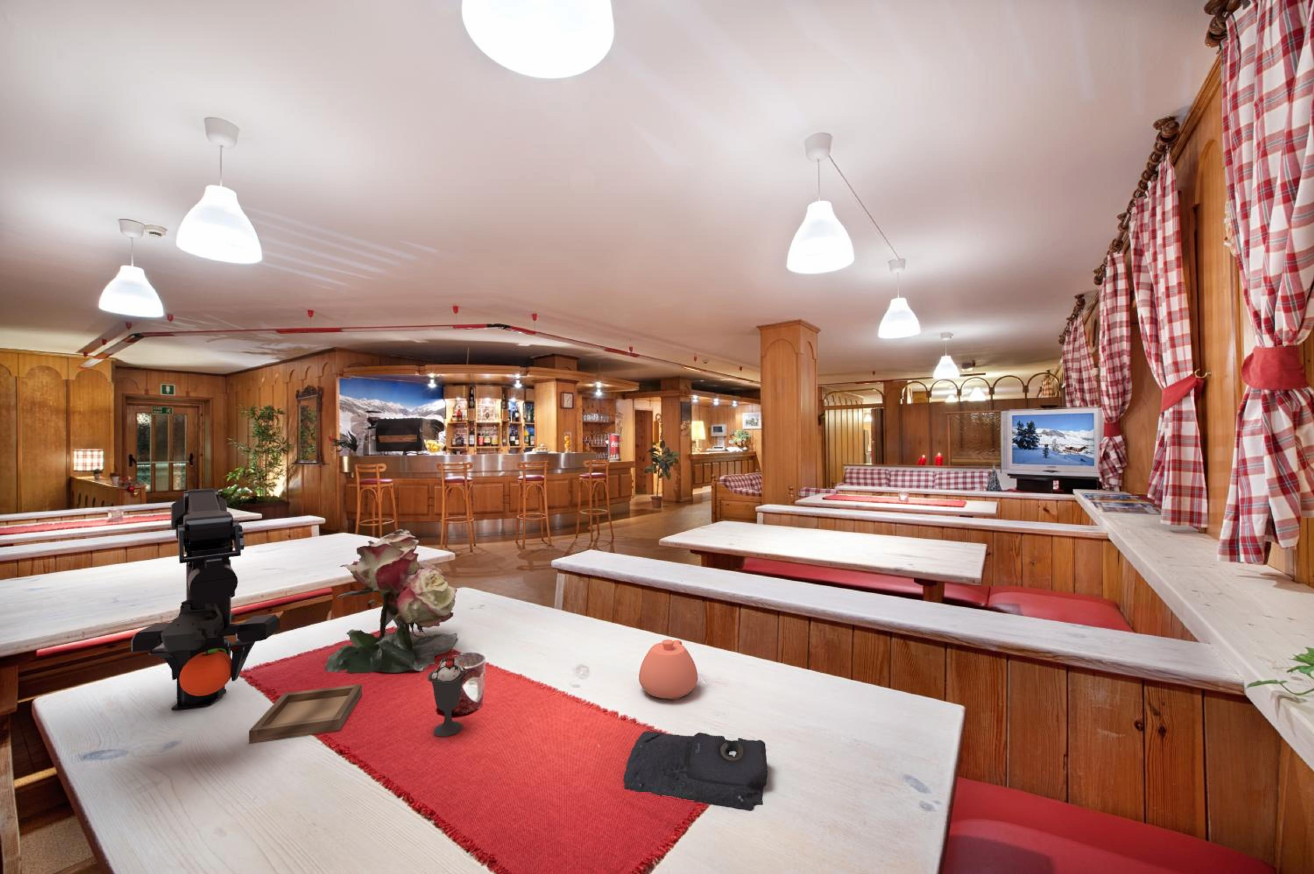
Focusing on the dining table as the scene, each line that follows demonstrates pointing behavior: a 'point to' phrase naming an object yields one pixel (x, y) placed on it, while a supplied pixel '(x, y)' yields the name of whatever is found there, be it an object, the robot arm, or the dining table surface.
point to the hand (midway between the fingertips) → (209, 682)
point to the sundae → (447, 692)
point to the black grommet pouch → (699, 769)
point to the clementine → (206, 672)
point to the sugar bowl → (668, 670)
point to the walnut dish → (306, 713)
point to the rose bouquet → (397, 609)
